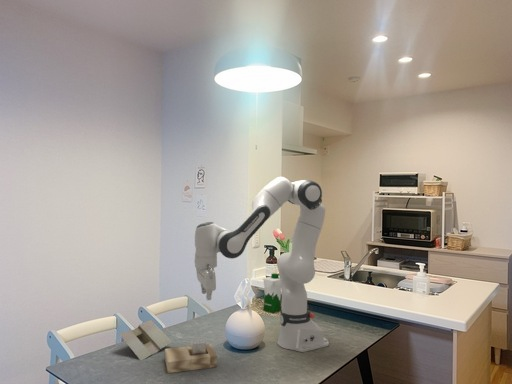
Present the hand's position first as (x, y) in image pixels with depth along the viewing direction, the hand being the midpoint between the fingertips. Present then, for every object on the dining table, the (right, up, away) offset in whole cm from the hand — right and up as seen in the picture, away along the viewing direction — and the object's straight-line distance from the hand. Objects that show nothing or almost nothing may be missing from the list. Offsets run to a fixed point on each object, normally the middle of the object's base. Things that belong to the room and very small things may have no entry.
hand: (206, 296), depth 154 cm
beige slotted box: (-25, -23, +3) cm, 34 cm away
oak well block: (-5, -23, -8) cm, 25 cm away
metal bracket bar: (-2, -23, -7) cm, 25 cm away
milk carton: (+29, -24, +57) cm, 68 cm away
